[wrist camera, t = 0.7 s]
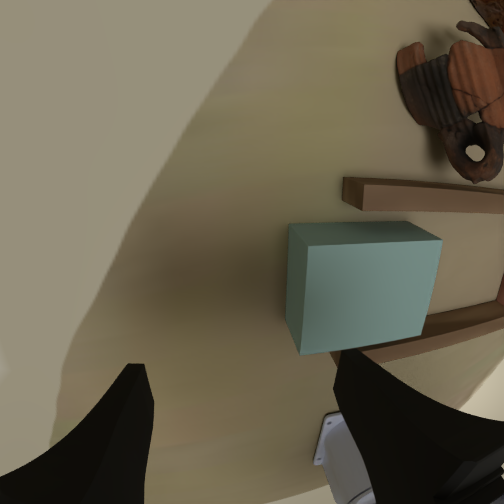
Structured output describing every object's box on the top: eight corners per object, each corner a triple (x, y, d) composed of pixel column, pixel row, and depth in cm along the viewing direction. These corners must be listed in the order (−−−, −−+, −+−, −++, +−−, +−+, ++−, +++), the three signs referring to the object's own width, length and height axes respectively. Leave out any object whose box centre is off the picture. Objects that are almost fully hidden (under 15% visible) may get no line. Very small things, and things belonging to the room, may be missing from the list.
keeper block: (391, 304, 24) (420, 334, 20) (284, 317, 23) (299, 355, 19) (405, 220, 21) (443, 240, 17) (288, 222, 20) (308, 246, 16)
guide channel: (499, 310, 26) (516, 323, 24) (326, 346, 24) (339, 370, 21) (526, 193, 22) (548, 201, 19) (343, 177, 19) (364, 184, 17)
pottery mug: (381, 14, 16) (482, -13, 9) (436, 66, 21) (514, 56, 15) (397, 174, 17) (528, 173, 10) (448, 193, 23) (536, 197, 16)
